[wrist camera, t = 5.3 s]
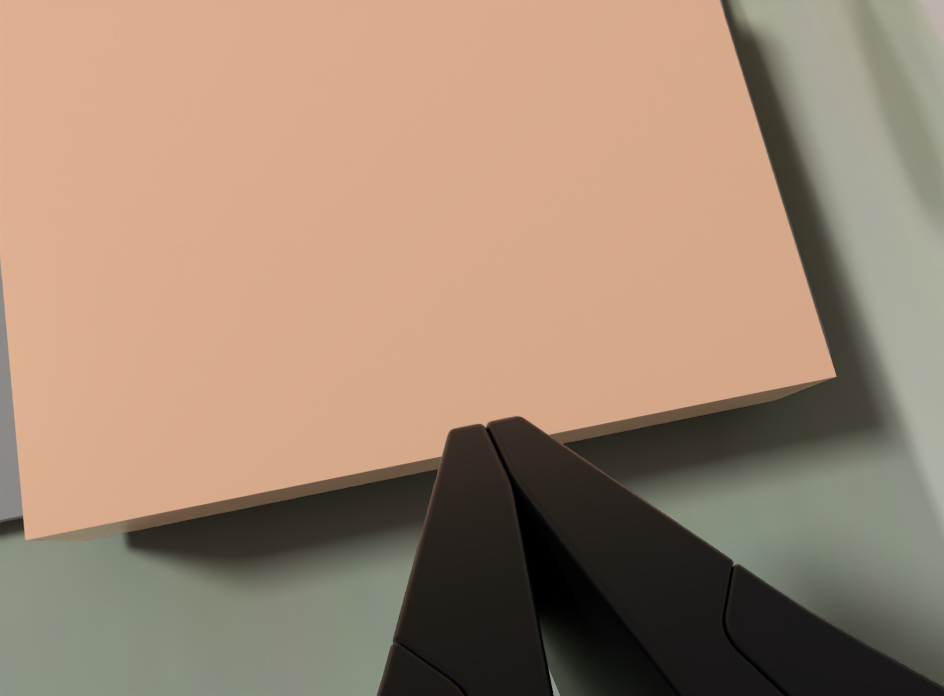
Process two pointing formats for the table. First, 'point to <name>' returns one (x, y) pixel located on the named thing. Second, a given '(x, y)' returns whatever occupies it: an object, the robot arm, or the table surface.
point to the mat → (3, 476)
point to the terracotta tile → (371, 241)
